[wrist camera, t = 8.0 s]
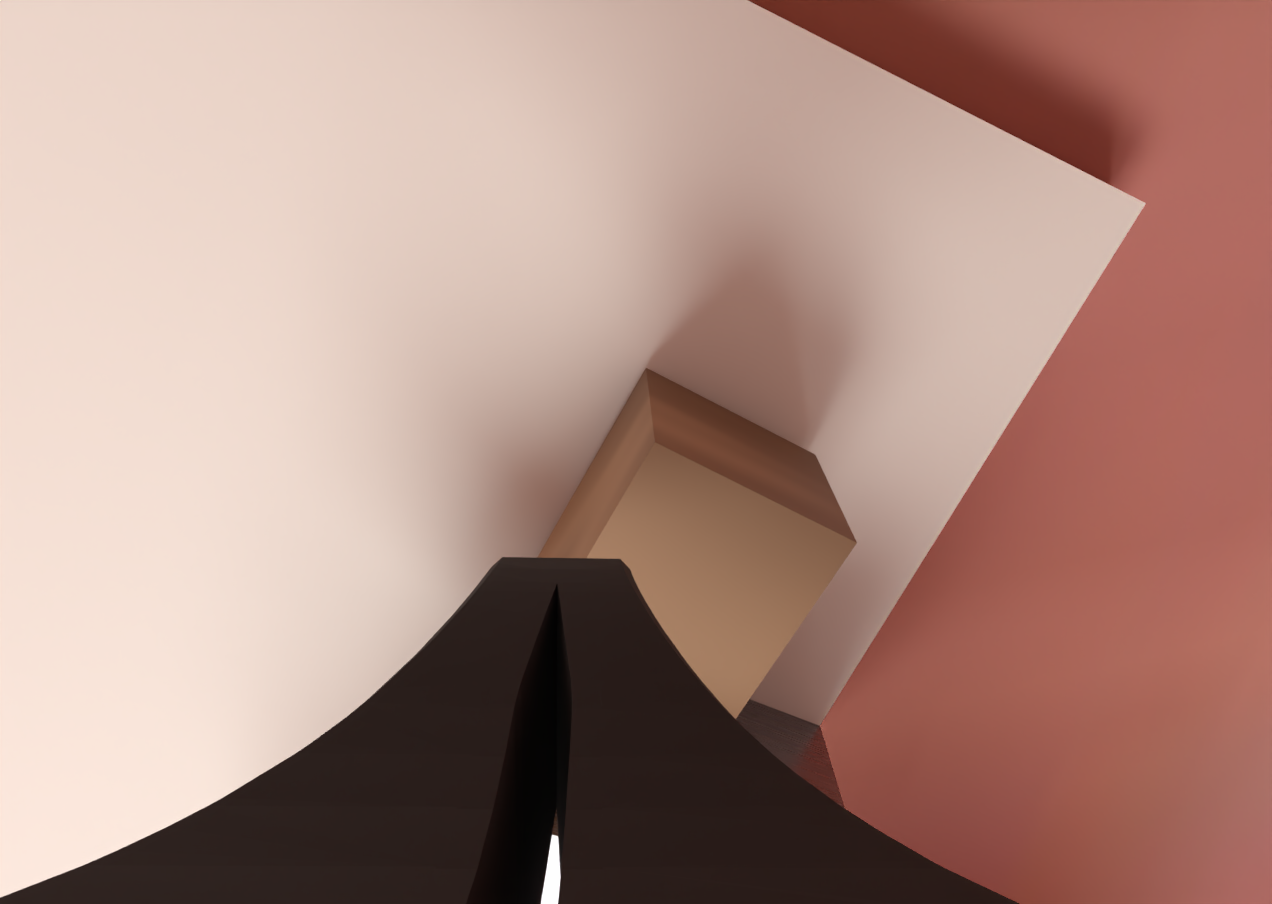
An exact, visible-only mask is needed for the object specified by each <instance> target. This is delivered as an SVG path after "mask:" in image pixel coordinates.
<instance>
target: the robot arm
mask: <svg viewBox="0 0 1272 904" xmlns="http://www.w3.org/2000/svg"><path fill="white" fill-rule="evenodd" d="M556 810H557V827H558V844H559V861H560V888H559V898H558V904H1019V903H1017V902H1015V901H1012V900H1010V899H1008V898H1006V897H1004V896H1002V895H1000V894H998V893H996V892H993V891H991V890H989V889H987V888H985V887H983V886H981V885H979V884H977V883H974V882H972V881H970V880H968V879H966V878H964V877H962V876H960V875H958V874H955V873H953V872H951V871H949V870H947V869H945V868H943V867H941V866H939V865H937V864H936V863H934V862H932V861H930V860H928V859H927V858H925V857H923V856H921V855H920V854H918V853H916V852H915V851H913V850H911V849H909V848H908V847H906V846H904V845H903V844H901V843H899V842H897V841H896V840H894V839H892V838H890V837H889V836H887V835H885V834H884V833H882V832H880V831H878V830H877V829H875V828H874V827H872V826H871V825H869V824H868V823H866V822H864V821H863V820H861V819H860V818H858V817H857V816H855V815H854V814H852V813H851V812H849V811H847V810H846V809H844V808H843V807H841V806H840V805H839V804H837V803H836V802H835V801H833V800H832V799H830V798H829V797H828V796H826V795H825V794H824V793H822V792H821V791H820V790H818V789H817V788H815V787H814V786H813V785H811V784H810V783H809V782H807V781H806V780H805V779H803V778H802V777H800V776H799V775H798V774H796V773H795V772H794V771H793V770H791V769H790V768H789V767H788V766H786V765H785V764H784V763H783V762H782V761H780V760H779V759H778V758H777V757H775V756H774V755H773V754H772V753H771V752H770V751H769V750H767V749H766V748H765V747H764V746H763V745H762V744H761V743H760V742H759V741H758V740H757V739H755V738H754V737H753V736H752V735H751V734H750V733H749V732H748V731H747V730H746V729H745V728H744V727H743V726H742V725H741V724H740V723H739V722H738V721H737V720H736V719H735V718H734V717H733V716H732V715H731V714H730V713H729V712H728V710H727V709H726V708H725V707H724V706H723V705H722V704H721V703H720V702H719V700H718V699H717V698H716V697H715V696H714V695H713V693H712V692H711V691H710V690H709V689H708V688H707V687H706V685H705V684H704V683H703V682H702V681H701V679H700V678H699V677H698V676H697V674H696V673H695V672H694V671H693V669H692V668H691V667H690V666H689V664H688V663H687V662H686V660H685V659H684V658H683V656H682V655H681V653H680V652H679V651H678V649H677V648H676V647H675V645H674V644H673V642H672V641H671V640H670V638H669V637H668V635H667V634H666V633H665V631H664V630H663V628H662V627H661V625H660V624H659V622H658V621H657V619H656V618H655V616H654V614H653V613H652V611H651V609H650V608H649V606H648V604H647V603H646V601H645V599H644V597H643V596H642V594H641V592H640V590H639V588H638V586H637V584H636V582H635V580H634V578H633V575H632V573H631V570H630V568H629V567H628V566H627V565H626V564H625V563H624V562H623V561H622V560H621V559H601V558H531V557H502V558H501V559H500V560H498V561H497V562H496V563H495V564H494V565H493V566H492V567H491V568H490V569H489V571H488V572H487V573H486V575H485V576H484V577H483V578H482V580H481V581H480V582H479V584H478V585H477V586H476V587H475V589H474V590H473V591H472V592H471V593H470V595H469V596H468V597H467V598H466V600H465V601H464V602H463V603H462V604H461V605H460V607H459V608H458V609H457V610H456V611H455V612H454V614H453V615H452V616H451V617H450V618H449V619H448V620H447V621H446V622H445V624H444V625H443V626H442V627H441V628H440V629H439V630H438V631H437V632H436V633H435V634H434V635H433V637H432V638H431V639H430V640H429V641H428V642H427V643H426V644H425V645H424V646H423V647H422V648H421V649H420V650H419V651H418V652H417V653H416V655H415V656H414V657H413V658H412V659H411V660H409V661H408V662H407V663H406V664H405V665H404V666H403V667H402V668H401V669H400V670H399V671H398V672H397V673H396V674H394V675H393V676H392V677H391V678H390V679H389V680H388V681H387V682H386V683H385V684H384V685H383V686H382V687H381V688H379V689H378V690H377V691H376V692H375V693H374V694H373V695H372V696H371V697H370V698H369V699H367V700H366V701H365V702H364V703H363V704H362V705H360V706H359V707H358V708H357V709H356V710H354V711H353V712H352V713H351V714H350V715H348V716H347V717H346V718H344V719H343V720H342V721H340V722H339V723H338V724H336V725H335V726H333V727H332V728H331V729H329V730H328V731H327V732H325V733H324V734H323V735H321V736H320V737H318V738H317V739H316V740H314V741H313V742H312V743H310V744H309V745H307V746H306V747H304V748H303V749H301V750H300V751H298V752H297V753H295V754H294V755H292V756H290V757H289V758H287V759H286V760H284V761H282V762H281V763H279V764H277V765H276V766H274V767H272V768H271V769H269V770H267V771H266V772H264V773H263V774H261V775H259V776H258V777H256V778H254V779H253V780H251V781H249V782H248V783H246V784H244V785H243V786H241V787H239V788H238V789H236V790H235V791H233V792H231V793H230V794H228V795H226V796H225V797H223V798H221V799H219V800H218V801H216V802H214V803H212V804H210V805H209V806H207V807H205V808H203V809H201V810H199V811H197V812H195V813H193V814H191V815H189V816H187V817H185V818H183V819H181V820H180V821H178V822H176V823H174V824H172V825H170V826H168V827H166V828H164V829H162V830H160V831H157V832H155V833H153V834H151V835H149V836H147V837H145V838H143V839H140V840H138V841H136V842H134V843H132V844H130V845H128V846H126V847H123V848H121V849H119V850H117V851H115V852H113V853H110V854H108V855H106V856H103V857H101V858H99V859H97V860H94V861H92V862H90V863H87V864H85V865H83V866H80V867H78V868H75V869H72V870H70V871H67V872H65V873H62V874H60V875H57V876H54V877H52V878H49V879H47V880H44V881H42V882H39V883H36V884H34V885H31V886H29V887H26V888H24V889H21V890H18V891H16V892H13V893H11V894H8V895H6V896H3V897H0V904H541V900H542V894H543V888H544V882H545V876H546V870H547V863H548V857H549V851H550V845H551V838H552V832H553V826H554V820H555V813H556Z"/></svg>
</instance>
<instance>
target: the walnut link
mask: <svg viewBox="0 0 1272 904" xmlns="http://www.w3.org/2000/svg"><path fill="white" fill-rule="evenodd" d="M856 544H857V542H856V540H855V537H854V535H853V533H852V531H851V529H850V527H849V525H848V523H847V521H846V518H845V516H844V514H843V512H842V510H841V508H840V506H839V504H838V502H837V499H836V497H835V495H834V493H833V491H832V489H831V487H830V485H829V482H828V480H827V478H826V476H825V474H824V472H823V470H822V468H821V466H820V463H819V461H818V459H817V457H816V455H815V454H813V453H811V452H809V451H807V450H806V449H804V448H802V447H800V446H798V445H796V444H794V443H792V442H790V441H788V440H786V439H784V438H782V437H780V436H778V435H776V434H774V433H772V432H770V431H768V430H767V429H765V428H763V427H761V426H759V425H757V424H755V423H753V422H751V421H749V420H747V419H745V418H743V417H741V416H739V415H737V414H735V413H733V412H731V411H730V410H728V409H726V408H724V407H722V406H720V405H718V404H716V403H714V402H712V401H710V400H708V399H706V398H704V397H702V396H700V395H698V394H696V393H694V392H693V391H691V390H689V389H687V388H685V387H683V386H681V385H679V384H677V383H675V382H673V381H671V380H669V379H667V378H665V377H663V376H661V375H659V374H657V373H656V372H654V371H652V370H650V369H648V368H645V370H644V372H643V374H642V375H641V377H640V379H639V381H638V382H637V384H636V386H635V388H634V389H633V391H632V393H631V395H630V396H629V398H628V400H627V402H626V403H625V405H624V407H623V409H622V410H621V412H620V414H619V416H618V417H617V419H616V421H615V423H614V424H613V426H612V428H611V430H610V431H609V433H608V435H607V437H606V438H605V440H604V442H603V444H602V445H601V447H600V449H599V451H598V452H597V454H596V456H595V458H594V459H593V461H592V463H591V465H590V466H589V468H588V470H587V472H586V473H585V475H584V477H583V479H582V480H581V482H580V484H579V486H578V487H577V489H576V491H575V493H574V494H573V496H572V498H571V499H570V501H569V503H568V505H567V506H566V508H565V510H564V512H563V513H562V515H561V517H560V519H559V520H558V522H557V524H556V526H555V527H554V529H553V531H552V533H551V534H550V536H549V538H548V540H547V541H546V543H545V545H544V547H543V548H542V550H541V552H540V554H539V555H538V557H537V558H601V559H621V560H622V561H623V562H624V563H625V564H626V565H627V566H628V567H629V568H630V570H631V573H632V575H633V578H634V580H635V582H636V584H637V586H638V588H639V590H640V592H641V594H642V596H643V597H644V599H645V601H646V603H647V604H648V606H649V608H650V609H651V611H652V613H653V614H654V616H655V618H656V619H657V621H658V622H659V624H660V625H661V627H662V628H663V630H664V631H665V633H666V634H667V635H668V637H669V638H670V640H671V641H672V642H673V644H674V645H675V647H676V648H677V649H678V651H679V652H680V653H681V655H682V656H683V658H684V659H685V660H686V662H687V663H688V664H689V666H690V667H691V668H692V669H693V671H694V672H695V673H696V674H697V676H698V677H699V678H700V679H701V681H702V682H703V683H704V684H705V685H706V687H707V688H708V689H709V690H710V691H711V692H712V693H713V695H714V696H715V697H716V698H717V699H718V700H719V702H720V703H721V704H722V705H723V706H724V707H725V708H726V709H727V710H728V712H729V713H730V714H731V715H732V716H733V717H734V718H735V719H736V718H737V717H738V715H739V714H740V712H741V711H742V709H743V708H744V706H745V705H746V704H747V702H748V701H749V699H750V698H751V696H752V695H753V693H754V692H755V690H756V689H757V688H758V686H759V685H760V683H761V682H762V680H763V679H764V677H765V676H766V674H767V673H768V672H769V670H770V669H771V667H772V666H773V664H774V663H775V661H776V660H777V658H778V657H779V656H780V654H781V653H782V651H783V650H784V648H785V647H786V645H787V644H788V642H789V641H790V640H791V638H792V637H793V635H794V634H795V632H796V631H797V629H798V628H799V626H800V625H801V624H802V622H803V621H804V619H805V618H806V616H807V615H808V613H809V612H810V610H811V609H812V608H813V606H814V605H815V603H816V602H817V600H818V599H819V597H820V596H821V595H822V593H823V592H824V590H825V589H826V587H827V586H828V584H829V583H830V581H831V580H832V579H833V577H834V576H835V574H836V573H837V571H838V570H839V568H840V567H841V565H842V564H843V563H844V561H845V560H846V558H847V557H848V555H849V554H850V552H851V551H852V549H853V548H854V547H855V545H856Z"/></svg>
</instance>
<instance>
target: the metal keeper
mask: <svg viewBox="0 0 1272 904" xmlns="http://www.w3.org/2000/svg"><path fill="white" fill-rule="evenodd" d="M736 720H737V721H738V722H739V723H740V724H741V725H742V726H743V727H744V728H745V729H746V730H747V731H748V732H749V733H750V734H751V735H752V736H753V737H754V738H755V739H757V740H758V741H759V742H760V743H761V744H762V745H763V746H764V747H765V748H766V749H767V750H769V751H770V752H771V753H772V754H773V755H774V756H775V757H777V758H778V759H779V760H780V761H782V762H783V763H784V764H785V765H786V766H788V767H789V768H790V769H791V770H793V771H794V772H795V773H796V774H798V775H799V776H800V777H802V778H803V779H805V780H806V781H807V782H809V783H810V784H811V785H813V786H814V787H815V788H817V789H818V790H820V791H821V792H822V793H824V794H825V795H826V796H828V797H829V798H830V799H832V800H833V801H835V802H836V803H837V804H839V805H840V806H841V807H843V808H844V805H843V801H842V798H841V795H840V791H839V788H838V785H837V781H836V778H835V775H834V771H833V768H832V765H831V761H830V758H829V755H828V751H827V748H826V745H825V741H824V738H823V735H822V732H821V728H820V726H819V725H817V724H814V723H811V722H809V721H806V720H803V719H801V718H798V717H795V716H793V715H790V714H787V713H785V712H782V711H780V710H777V709H774V708H772V707H769V706H766V705H764V704H761V703H758V702H756V701H753V700H750V699H749V701H748V702H747V704H746V705H745V706H744V708H743V709H742V711H741V712H740V714H739V715H738V717H737V718H736ZM844 809H845V808H844ZM559 888H560V861H559V844H558V827H557V810H556V813H555V820H554V826H553V832H552V838H551V845H550V851H549V857H548V863H547V870H546V876H545V882H544V888H543V894H542V900H541V904H558V898H559Z"/></svg>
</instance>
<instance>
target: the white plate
mask: <svg viewBox="0 0 1272 904" xmlns="http://www.w3.org/2000/svg"><path fill="white" fill-rule="evenodd" d="M1145 204H1146V203H1144V202H1142V201H1140V200H1138V199H1136V198H1134V197H1132V196H1130V195H1128V194H1127V193H1125V192H1123V191H1121V190H1119V189H1117V188H1115V187H1113V186H1111V185H1109V184H1107V183H1105V182H1103V181H1101V180H1099V179H1097V178H1095V177H1093V176H1091V175H1089V174H1087V173H1085V172H1083V171H1081V170H1079V169H1077V168H1076V167H1074V166H1072V165H1070V164H1068V163H1066V162H1064V161H1062V160H1060V159H1058V158H1056V157H1054V156H1052V155H1050V154H1048V153H1046V152H1044V151H1042V150H1040V149H1038V148H1036V147H1034V146H1032V145H1030V144H1028V143H1027V142H1025V141H1023V140H1021V139H1019V138H1017V137H1015V136H1013V135H1011V134H1009V133H1007V132H1005V131H1003V130H1001V129H999V128H997V127H995V126H993V125H991V124H989V123H987V122H985V121H983V120H981V119H979V118H977V117H976V116H974V115H972V114H970V113H968V112H966V111H964V110H962V109H960V108H958V107H956V106H954V105H952V104H950V103H948V102H946V101H944V100H942V99H940V98H938V97H936V96H934V95H932V94H930V93H928V92H926V91H925V90H923V89H921V88H919V87H917V86H915V85H913V84H911V83H909V82H907V81H905V80H903V79H901V78H899V77H897V76H895V75H893V74H891V73H889V72H887V71H885V70H883V69H881V68H879V67H877V66H876V65H874V64H872V63H870V62H868V61H866V60H864V59H862V58H860V57H858V56H856V55H854V54H852V53H850V52H848V51H846V50H844V49H842V48H840V47H838V46H836V45H834V44H832V43H830V42H828V41H826V40H825V39H823V38H821V37H819V36H817V35H815V34H813V33H811V32H809V31H807V30H805V29H803V28H801V27H799V26H797V25H795V24H793V23H791V22H789V21H787V20H785V19H783V18H781V17H779V16H777V15H776V14H774V13H772V12H770V11H768V10H766V9H764V8H762V7H760V6H758V5H756V4H754V3H752V2H750V1H748V0H0V897H3V896H6V895H8V894H11V893H13V892H16V891H18V890H21V889H24V888H26V887H29V886H31V885H34V884H36V883H39V882H42V881H44V880H47V879H49V878H52V877H54V876H57V875H60V874H62V873H65V872H67V871H70V870H72V869H75V868H78V867H80V866H83V865H85V864H87V863H90V862H92V861H94V860H97V859H99V858H101V857H103V856H106V855H108V854H110V853H113V852H115V851H117V850H119V849H121V848H123V847H126V846H128V845H130V844H132V843H134V842H136V841H138V840H140V839H143V838H145V837H147V836H149V835H151V834H153V833H155V832H157V831H160V830H162V829H164V828H166V827H168V826H170V825H172V824H174V823H176V822H178V821H180V820H181V819H183V818H185V817H187V816H189V815H191V814H193V813H195V812H197V811H199V810H201V809H203V808H205V807H207V806H209V805H210V804H212V803H214V802H216V801H218V800H219V799H221V798H223V797H225V796H226V795H228V794H230V793H231V792H233V791H235V790H236V789H238V788H239V787H241V786H243V785H244V784H246V783H248V782H249V781H251V780H253V779H254V778H256V777H258V776H259V775H261V774H263V773H264V772H266V771H267V770H269V769H271V768H272V767H274V766H276V765H277V764H279V763H281V762H282V761H284V760H286V759H287V758H289V757H290V756H292V755H294V754H295V753H297V752H298V751H300V750H301V749H303V748H304V747H306V746H307V745H309V744H310V743H312V742H313V741H314V740H316V739H317V738H318V737H320V736H321V735H323V734H324V733H325V732H327V731H328V730H329V729H331V728H332V727H333V726H335V725H336V724H338V723H339V722H340V721H342V720H343V719H344V718H346V717H347V716H348V715H350V714H351V713H352V712H353V711H354V710H356V709H357V708H358V707H359V706H360V705H362V704H363V703H364V702H365V701H366V700H367V699H369V698H370V697H371V696H372V695H373V694H374V693H375V692H376V691H377V690H378V689H379V688H381V687H382V686H383V685H384V684H385V683H386V682H387V681H388V680H389V679H390V678H391V677H392V676H393V675H394V674H396V673H397V672H398V671H399V670H400V669H401V668H402V667H403V666H404V665H405V664H406V663H407V662H408V661H409V660H411V659H412V658H413V657H414V656H415V655H416V653H417V652H418V651H419V650H420V649H421V648H422V647H423V646H424V645H425V644H426V643H427V642H428V641H429V640H430V639H431V638H432V637H433V635H434V634H435V633H436V632H437V631H438V630H439V629H440V628H441V627H442V626H443V625H444V624H445V622H446V621H447V620H448V619H449V618H450V617H451V616H452V615H453V614H454V612H455V611H456V610H457V609H458V608H459V607H460V605H461V604H462V603H463V602H464V601H465V600H466V598H467V597H468V596H469V595H470V593H471V592H472V591H473V590H474V589H475V587H476V586H477V585H478V584H479V582H480V581H481V580H482V578H483V577H484V576H485V575H486V573H487V572H488V571H489V569H490V568H491V567H492V566H493V565H494V564H495V563H496V562H497V561H498V560H500V559H501V558H502V557H531V558H537V557H538V555H539V554H540V552H541V550H542V548H543V547H544V545H545V543H546V541H547V540H548V538H549V536H550V534H551V533H552V531H553V529H554V527H555V526H556V524H557V522H558V520H559V519H560V517H561V515H562V513H563V512H564V510H565V508H566V506H567V505H568V503H569V501H570V499H571V498H572V496H573V494H574V493H575V491H576V489H577V487H578V486H579V484H580V482H581V480H582V479H583V477H584V475H585V473H586V472H587V470H588V468H589V466H590V465H591V463H592V461H593V459H594V458H595V456H596V454H597V452H598V451H599V449H600V447H601V445H602V444H603V442H604V440H605V438H606V437H607V435H608V433H609V431H610V430H611V428H612V426H613V424H614V423H615V421H616V419H617V417H618V416H619V414H620V412H621V410H622V409H623V407H624V405H625V403H626V402H627V400H628V398H629V396H630V395H631V393H632V391H633V389H634V388H635V386H636V384H637V382H638V381H639V379H640V377H641V375H642V374H643V372H644V370H645V368H648V369H650V370H652V371H654V372H656V373H657V374H659V375H661V376H663V377H665V378H667V379H669V380H671V381H673V382H675V383H677V384H679V385H681V386H683V387H685V388H687V389H689V390H691V391H693V392H694V393H696V394H698V395H700V396H702V397H704V398H706V399H708V400H710V401H712V402H714V403H716V404H718V405H720V406H722V407H724V408H726V409H728V410H730V411H731V412H733V413H735V414H737V415H739V416H741V417H743V418H745V419H747V420H749V421H751V422H753V423H755V424H757V425H759V426H761V427H763V428H765V429H767V430H768V431H770V432H772V433H774V434H776V435H778V436H780V437H782V438H784V439H786V440H788V441H790V442H792V443H794V444H796V445H798V446H800V447H802V448H804V449H806V450H807V451H809V452H811V453H813V454H815V455H816V457H817V459H818V461H819V463H820V466H821V468H822V470H823V472H824V474H825V476H826V478H827V480H828V482H829V485H830V487H831V489H832V491H833V493H834V495H835V497H836V499H837V502H838V504H839V506H840V508H841V510H842V512H843V514H844V516H845V518H846V521H847V523H848V525H849V527H850V529H851V531H852V533H853V535H854V537H855V540H856V542H857V544H856V545H855V547H854V548H853V549H852V551H851V552H850V554H849V555H848V557H847V558H846V560H845V561H844V563H843V564H842V565H841V567H840V568H839V570H838V571H837V573H836V574H835V576H834V577H833V579H832V580H831V581H830V583H829V584H828V586H827V587H826V589H825V590H824V592H823V593H822V595H821V596H820V597H819V599H818V600H817V602H816V603H815V605H814V606H813V608H812V609H811V610H810V612H809V613H808V615H807V616H806V618H805V619H804V621H803V622H802V624H801V625H800V626H799V628H798V629H797V631H796V632H795V634H794V635H793V637H792V638H791V640H790V641H789V642H788V644H787V645H786V647H785V648H784V650H783V651H782V653H781V654H780V656H779V657H778V658H777V660H776V661H775V663H774V664H773V666H772V667H771V669H770V670H769V672H768V673H767V674H766V676H765V677H764V679H763V680H762V682H761V683H760V685H759V686H758V688H757V689H756V690H755V692H754V693H753V695H752V696H751V698H750V700H753V701H756V702H758V703H761V704H764V705H766V706H769V707H772V708H774V709H777V710H780V711H782V712H785V713H787V714H790V715H793V716H795V717H798V718H801V719H803V720H806V721H809V722H811V723H814V724H817V725H819V726H820V725H821V723H822V721H823V720H824V718H825V717H826V715H827V713H828V712H829V710H830V709H831V707H832V705H833V704H834V702H835V701H836V699H837V697H838V696H839V694H840V692H841V691H842V689H843V688H844V686H845V684H846V683H847V681H848V680H849V678H850V676H851V675H852V673H853V672H854V670H855V668H856V667H857V665H858V664H859V662H860V660H861V659H862V657H863V656H864V654H865V652H866V651H867V649H868V648H869V646H870V644H871V643H872V641H873V640H874V638H875V636H876V635H877V633H878V632H879V630H880V628H881V627H882V625H883V624H884V622H885V620H886V619H887V617H888V616H889V614H890V612H891V611H892V609H893V608H894V606H895V604H896V603H897V601H898V600H899V598H900V596H901V595H902V593H903V592H904V590H905V588H906V587H907V585H908V584H909V582H910V580H911V579H912V577H913V576H914V574H915V572H916V571H917V569H918V568H919V566H920V564H921V563H922V561H923V560H924V558H925V556H926V555H927V553H928V552H929V550H930V548H931V547H932V545H933V544H934V542H935V540H936V539H937V537H938V536H939V534H940V532H941V531H942V529H943V528H944V526H945V524H946V523H947V521H948V520H949V518H950V516H951V515H952V513H953V511H954V510H955V508H956V507H957V505H958V503H959V502H960V500H961V499H962V497H963V495H964V494H965V492H966V491H967V489H968V487H969V486H970V484H971V483H972V481H973V479H974V478H975V476H976V475H977V473H978V471H979V470H980V468H981V467H982V465H983V463H984V462H985V460H986V459H987V457H988V455H989V454H990V452H991V451H992V449H993V447H994V446H995V444H996V443H997V441H998V439H999V438H1000V436H1001V435H1002V433H1003V431H1004V430H1005V428H1006V427H1007V425H1008V423H1009V422H1010V420H1011V419H1012V417H1013V415H1014V414H1015V412H1016V411H1017V409H1018V407H1019V406H1020V404H1021V403H1022V401H1023V399H1024V398H1025V396H1026V395H1027V393H1028V391H1029V390H1030V388H1031V387H1032V385H1033V383H1034V382H1035V380H1036V379H1037V377H1038V375H1039V374H1040V372H1041V371H1042V369H1043V367H1044V366H1045V364H1046V363H1047V361H1048V359H1049V358H1050V356H1051V355H1052V353H1053V351H1054V350H1055V348H1056V347H1057V345H1058V343H1059V342H1060V340H1061V339H1062V337H1063V335H1064V334H1065V332H1066V330H1067V329H1068V327H1069V326H1070V324H1071V322H1072V321H1073V319H1074V318H1075V316H1076V314H1077V313H1078V311H1079V310H1080V308H1081V306H1082V305H1083V303H1084V302H1085V300H1086V298H1087V297H1088V295H1089V294H1090V292H1091V290H1092V289H1093V287H1094V286H1095V284H1096V282H1097V281H1098V279H1099V278H1100V276H1101V274H1102V273H1103V271H1104V270H1105V268H1106V266H1107V265H1108V263H1109V262H1110V260H1111V258H1112V257H1113V255H1114V254H1115V252H1116V250H1117V249H1118V247H1119V246H1120V244H1121V242H1122V241H1123V239H1124V238H1125V236H1126V234H1127V233H1128V231H1129V230H1130V228H1131V226H1132V225H1133V223H1134V222H1135V220H1136V218H1137V217H1138V215H1139V214H1140V212H1141V210H1142V209H1143V207H1144V206H1145Z"/></svg>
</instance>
